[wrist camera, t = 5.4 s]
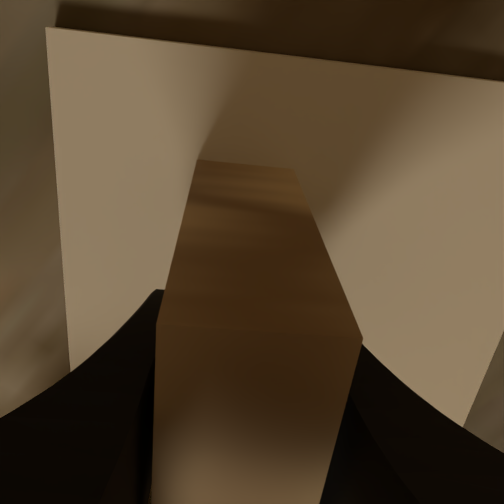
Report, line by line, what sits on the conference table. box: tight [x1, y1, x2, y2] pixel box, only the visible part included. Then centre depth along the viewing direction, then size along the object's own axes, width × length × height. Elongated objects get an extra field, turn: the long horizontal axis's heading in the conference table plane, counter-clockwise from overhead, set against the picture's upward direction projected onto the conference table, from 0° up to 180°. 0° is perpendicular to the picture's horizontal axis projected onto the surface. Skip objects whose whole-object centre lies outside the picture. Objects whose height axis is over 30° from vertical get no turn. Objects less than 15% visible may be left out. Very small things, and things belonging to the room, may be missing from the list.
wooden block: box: [151, 159, 363, 504], centre depth 11 cm, size 3×6×8 cm, turn 174°
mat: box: [45, 27, 504, 427], centre depth 14 cm, size 14×12×1 cm
